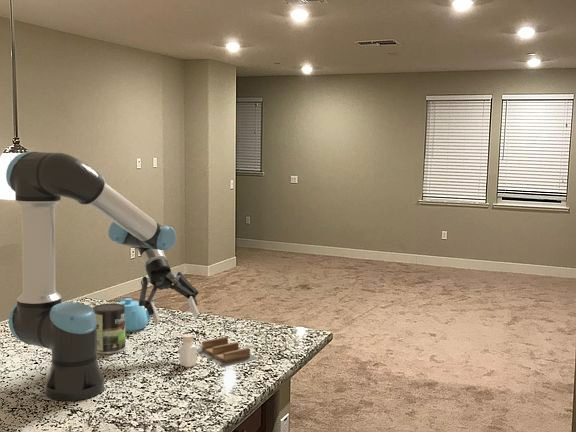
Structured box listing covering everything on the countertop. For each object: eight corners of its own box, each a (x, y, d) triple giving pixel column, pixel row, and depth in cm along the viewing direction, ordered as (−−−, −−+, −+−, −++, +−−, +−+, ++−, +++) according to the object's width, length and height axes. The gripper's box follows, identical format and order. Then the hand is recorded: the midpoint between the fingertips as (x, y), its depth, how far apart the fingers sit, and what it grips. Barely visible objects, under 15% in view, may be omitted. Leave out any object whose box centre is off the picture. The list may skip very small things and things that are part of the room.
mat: (259, 359, 197) (259, 358, 197) (223, 368, 189) (223, 367, 189) (227, 343, 212) (227, 342, 212) (193, 350, 204) (193, 349, 204)
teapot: (123, 319, 239) (122, 291, 238) (157, 323, 234) (157, 295, 233) (98, 330, 225) (97, 301, 223) (134, 335, 220) (134, 305, 218)
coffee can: (131, 345, 209) (130, 304, 207) (116, 355, 199) (116, 312, 197) (102, 342, 211) (102, 302, 209) (87, 352, 201) (86, 310, 199)
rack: (202, 350, 204) (202, 341, 203) (225, 345, 209) (225, 336, 209) (225, 363, 192) (225, 354, 192) (249, 357, 197) (249, 348, 197)
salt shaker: (188, 362, 194) (188, 332, 193) (197, 365, 191) (197, 335, 190) (178, 365, 191) (178, 335, 190) (187, 368, 188) (187, 338, 187)
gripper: (186, 266, 217) (207, 318, 207) (117, 275, 202) (137, 332, 192) (193, 253, 212) (216, 306, 202) (123, 261, 197) (144, 319, 187)
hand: (177, 319), depth 197 cm, fingers open, 13 cm apart
